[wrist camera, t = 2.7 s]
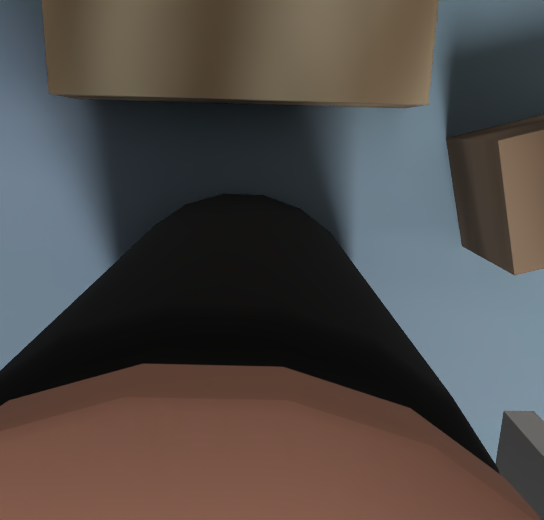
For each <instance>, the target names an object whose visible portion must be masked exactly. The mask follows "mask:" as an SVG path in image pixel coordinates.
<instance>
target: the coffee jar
mask: <svg viewBox="0 0 544 520" xmlns="http://www.w3.org/2000/svg"><path fill="white" fill-rule="evenodd" d="M0 520H541V519H540V517H539V515H538V514H537V513H536V512H535V511H534V510H533V509H532V507H531V506H530V505H529V504H528V503H527V502H526V501H525V500H524V498H523V497H522V496H521V495H520V494H519V493H518V492H517V491H516V489H515V488H514V487H513V486H512V485H511V484H510V483H509V482H508V481H507V479H506V478H504V477H503V476H502V475H500V473H499V470H498V468H497V466H496V465H495V463H494V461H493V460H492V458H491V457H490V455H489V454H488V452H487V451H486V449H485V447H484V446H483V444H482V443H481V441H480V440H479V438H478V436H477V435H476V433H475V432H474V430H473V429H472V427H471V426H470V424H469V422H468V421H467V419H466V418H465V416H464V415H463V413H462V411H461V410H460V408H459V407H458V405H457V404H456V402H455V401H454V399H453V397H452V396H451V395H450V393H449V392H448V391H447V389H446V388H445V387H444V385H443V384H442V382H441V381H440V380H439V378H438V377H437V376H436V374H435V373H434V372H433V370H432V369H431V368H430V366H429V365H428V364H427V362H426V361H425V360H424V358H423V357H422V356H421V354H420V353H419V352H418V350H417V349H416V347H415V346H414V345H413V343H412V342H411V341H410V339H409V338H408V337H407V335H406V334H405V333H404V331H403V330H402V329H401V327H400V326H399V325H398V323H397V322H396V321H395V319H394V318H393V317H392V315H391V314H390V312H389V311H388V310H387V308H386V307H385V306H384V304H383V303H382V302H381V300H380V299H379V298H378V296H377V295H376V294H375V292H374V291H373V290H372V288H371V287H370V286H369V284H368V283H367V282H366V280H365V279H364V278H363V276H362V275H361V273H360V272H359V271H358V269H357V268H356V267H355V265H354V264H353V263H352V261H351V260H350V259H349V257H348V256H347V255H346V253H345V252H344V251H343V249H342V248H341V247H340V245H339V244H338V243H337V241H336V240H335V238H334V237H333V236H332V234H331V233H330V232H329V231H328V230H326V229H325V228H324V227H323V226H321V225H320V224H319V223H317V222H316V221H315V220H314V219H312V218H311V217H310V216H309V215H307V214H306V213H305V212H304V211H302V210H301V209H299V208H297V207H294V206H291V205H288V204H286V203H283V202H280V201H278V200H275V199H272V198H269V197H267V196H264V195H242V194H221V195H218V196H214V197H211V198H207V199H204V200H200V201H197V202H193V203H190V204H186V205H184V206H183V207H182V208H180V209H179V210H177V211H176V212H174V213H173V214H171V215H170V216H168V217H167V218H165V219H164V220H163V221H161V222H160V223H158V224H157V225H155V226H154V227H153V228H152V229H151V230H149V231H148V232H147V233H146V234H145V235H144V236H143V237H142V238H141V239H140V240H139V241H138V242H137V243H136V244H135V245H134V246H132V247H131V248H130V249H129V250H128V251H127V252H126V253H125V254H124V255H123V256H122V257H121V258H120V259H119V260H118V261H117V262H115V263H114V264H113V265H112V266H111V267H110V268H109V269H108V270H107V271H106V272H105V273H104V274H103V275H102V276H101V277H100V278H98V279H97V280H96V281H95V282H94V283H93V284H92V285H91V286H90V287H89V288H88V289H87V290H86V291H85V292H84V293H82V294H81V295H80V296H79V297H78V298H77V299H76V300H75V301H74V302H73V303H72V304H71V305H70V306H69V307H68V308H67V309H65V310H64V311H63V312H62V313H61V314H60V315H59V316H58V317H57V318H56V319H55V320H54V321H53V322H52V323H51V324H50V325H48V326H47V327H46V328H45V329H44V330H43V331H42V332H41V333H40V334H39V335H38V336H37V337H36V338H35V339H34V340H33V341H31V342H30V343H29V344H28V345H27V346H26V347H25V348H24V349H23V350H22V351H21V352H20V353H19V354H18V355H17V356H15V357H14V358H13V359H12V360H11V361H10V362H9V363H8V364H7V365H6V366H5V367H4V368H3V369H2V370H1V371H0Z"/></svg>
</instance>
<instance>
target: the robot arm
mask: <svg viewBox="0 0 544 520" xmlns="http://www.w3.org/2000/svg"><path fill="white" fill-rule="evenodd" d="M495 465H496V466H497V468H498V470H499V473H500V475H502V476H503V477H504V478H506V479H507V481H508V482H509V483H510V484H511V485H512V486H513V487H514V488H515V489H516V491H517V492H518V493H519V494H520V495H521V496H522V497H523V498H524V500H525V501H526V502H527V503H528V504H529V505H530V506H531V507H532V509H533V510H534V511H535V512H536V513H537V514H538V515H539V517H540V519H541V520H544V421H543V420H542V419H541V418H540V417H539V416H538V415H537V414H536V413H535V412H534V411H504V413H503V419H502V426H501V432H500V438H499V445H498V451H497V458H496V464H495Z"/></svg>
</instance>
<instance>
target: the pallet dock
mask: <svg viewBox="0 0 544 520" xmlns="http://www.w3.org/2000/svg"><path fill="white" fill-rule="evenodd" d="M438 1H439V0H42V13H43V25H44V38H45V51H46V63H47V76H48V88H49V94H53V95H58V96H64V97H69V98H75V99H99V100H134V101H169V102H205V103H240V104H276V105H311V106H346V107H382V108H410V107H416V106H423V105H428V104H429V94H430V84H431V73H432V63H433V53H434V42H435V32H436V22H437V12H438Z"/></svg>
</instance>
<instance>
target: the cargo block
mask: <svg viewBox="0 0 544 520" xmlns="http://www.w3.org/2000/svg"><path fill="white" fill-rule="evenodd" d="M446 142H447V149H448V155H449V162H450V169H451V175H452V182H453V189H454V196H455V202H456V209H457V216H458V222H459V229H460V236H461V243H462V246H463V247H465V248H466V249H468V250H470V251H472V252H474V253H475V254H477V255H479V256H481V257H483V258H484V259H486V260H488V261H490V262H492V263H493V264H495V265H497V266H499V267H501V268H502V269H504V270H506V271H508V272H510V273H511V274H513V275H518V274H522V273H526V272H531V271H535V270H539V269H543V268H544V115H540V116H536V117H532V118H528V119H524V120H519V121H515V122H511V123H507V124H503V125H499V126H495V127H491V128H487V129H483V130H479V131H475V132H471V133H467V134H463V135H459V136H454V137H450V138H446Z"/></svg>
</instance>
